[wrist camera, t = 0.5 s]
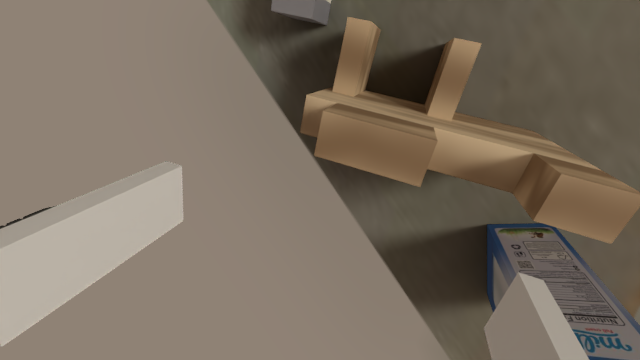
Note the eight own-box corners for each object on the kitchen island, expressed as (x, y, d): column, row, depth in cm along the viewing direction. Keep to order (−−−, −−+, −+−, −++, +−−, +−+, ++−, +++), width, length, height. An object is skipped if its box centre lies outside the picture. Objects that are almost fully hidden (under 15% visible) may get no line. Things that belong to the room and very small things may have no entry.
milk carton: (486, 223, 34) (568, 403, 16) (551, 222, 32) (729, 427, 14) (487, 293, 37) (555, 509, 19) (546, 296, 35) (684, 541, 17)
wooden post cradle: (354, 24, 30) (301, -9, 16) (566, 67, 27) (742, 73, 12) (335, 110, 34) (279, 145, 20) (518, 158, 30) (611, 243, 16)
